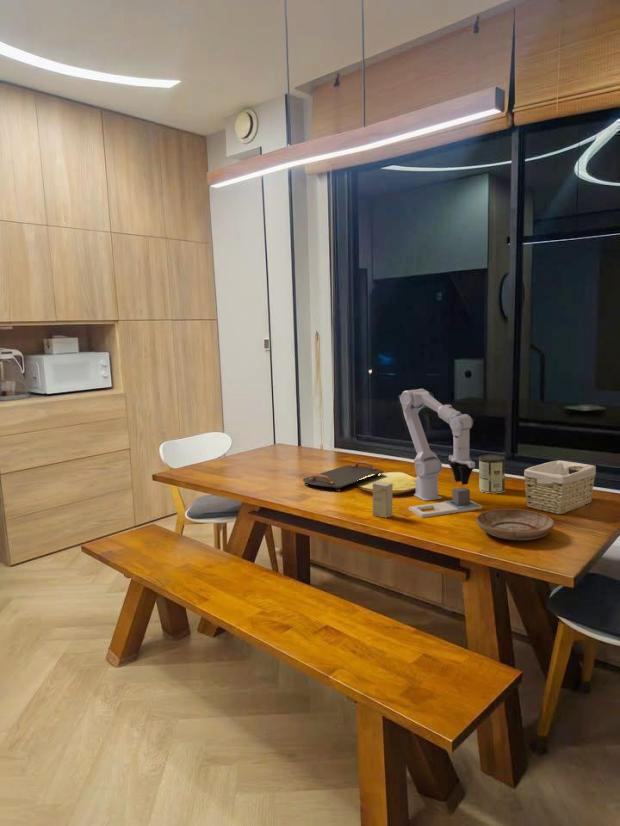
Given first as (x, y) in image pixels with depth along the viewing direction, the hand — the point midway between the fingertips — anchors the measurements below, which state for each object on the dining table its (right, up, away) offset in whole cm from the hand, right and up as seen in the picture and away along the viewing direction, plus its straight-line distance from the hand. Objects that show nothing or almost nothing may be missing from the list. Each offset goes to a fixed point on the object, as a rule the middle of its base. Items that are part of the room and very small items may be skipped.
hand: (461, 482), depth 210 cm
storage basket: (+36, -9, -1) cm, 37 cm away
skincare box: (-30, -12, -5) cm, 33 cm away
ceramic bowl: (+10, -13, -28) cm, 33 cm away
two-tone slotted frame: (-6, -10, -1) cm, 12 cm away
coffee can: (+18, -6, +21) cm, 29 cm away
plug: (0, -9, +1) cm, 10 cm away
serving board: (-41, -5, +48) cm, 63 cm away
